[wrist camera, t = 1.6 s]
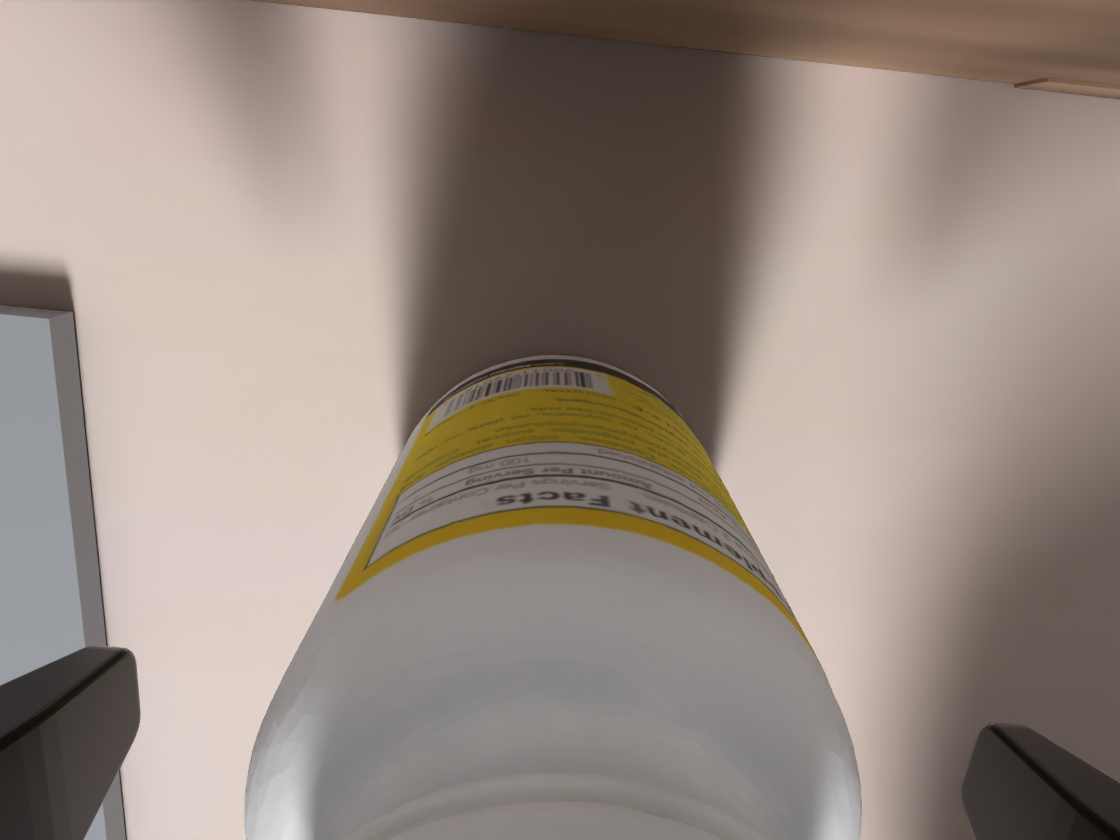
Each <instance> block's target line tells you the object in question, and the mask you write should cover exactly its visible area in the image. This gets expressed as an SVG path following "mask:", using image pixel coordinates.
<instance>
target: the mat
mask: <svg viewBox="0 0 1120 840" xmlns="http://www.w3.org/2000/svg"><path fill="white" fill-rule="evenodd" d="M87 646H106V637H105V627H104V617H103V607H102V597H101V587H100V577H99V567H98V557H97V547H96V537H95V527H94V517H93V507H92V497H91V487H90V477H89V467H88V457H87V447H86V438H85V428H84V418H83V408H82V398H81V388H80V378H79V368H78V358H77V348H76V338H75V328H74V318H73V312H70V311H59V310H49V309H39V308H29V307H18V306H8V305H0V685H2V684H4V683H7V682H9V681H11V680H13V679H15V678H18V677H20V676H22V675H24V674H27V673H29V672H31V671H33V670H36V669H38V668H40V667H42V666H44V665H47V664H49V663H51V662H53V661H56V660H58V659H60V658H62V657H65V656H67V655H69V654H71V653H73V652H76V651H78V650H80V649H82V648H85V647H87ZM84 840H126V836H125V826H124V816H123V806H122V796H121V786H120V776H119V771H118V773H117V775H116V777H115V779H114V781H113V783H112V785H111V787H110V789H109V791H108V793H107V795H106V797H105V799H104V801H103V803H102V805H101V807H100V809H99V811H98V813H97V815H96V817H95V819H94V821H93V823H92V825H91V827H90V829H89V831H88V833H87V835H86V837H85V839H84Z"/></svg>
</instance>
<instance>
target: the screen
mask: <svg viewBox="0 0 1120 840" xmlns="http://www.w3.org/2000/svg"><path fill="white" fill-rule="evenodd" d="M254 1H263V2H272V3H281V4H290V5H300V6H309V7H318V8H327V9H336V10H345V11H354V12H364V13H373V14H382V15H391V16H400V17H409V18H419V19H428V20H437V21H446V22H455V23H464V24H474V25H483V26H492V27H501V28H510V29H519V30H528V31H538V32H547V33H556V34H565V35H574V36H583V37H593V38H602V39H611V40H620V41H629V42H638V43H647V44H657V45H666V46H675V47H684V48H693V49H702V50H712V51H721V52H730V53H739V54H748V55H757V56H767V57H776V58H785V59H794V60H803V61H812V62H821V63H831V64H840V65H849V66H858V67H867V68H876V69H886V70H895V71H904V72H913V73H922V74H931V75H940V76H950V77H959V78H968V79H977V80H986V81H995V82H1005V83H1014V84H1015V88H1025V89H1034V90H1043V91H1052V92H1061V93H1070V94H1080V95H1089V96H1098V97H1107V98H1116V99H1120V0H254Z"/></svg>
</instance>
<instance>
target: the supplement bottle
mask: <svg viewBox="0 0 1120 840" xmlns="http://www.w3.org/2000/svg"><path fill="white" fill-rule="evenodd" d="M861 816H862V801H861V786H860V778H859V772H858V767H857V762H856V757H855V752H854V747H853V743H852V740H851V737H850V734H849V731H848V728H847V725H846V722H845V719H844V717H843V714H842V712H841V709H840V707H839V705H838V703H837V701H836V699H835V696H834V694H833V692H832V689H831V687H830V684H829V682H828V679H827V677H826V674H825V672H824V670H823V668H822V666H821V664H820V663H819V661H818V659H817V657H816V655H815V653H814V651H813V649H812V647H811V645H810V644H809V642H808V640H807V638H806V636H805V635H804V633H803V631H802V629H801V627H800V625H799V623H798V622H797V620H796V618H795V616H794V614H793V612H792V610H791V608H790V606H789V604H788V602H787V601H786V599H785V597H784V596H783V594H782V592H781V590H780V588H779V586H778V584H777V582H776V581H775V578H774V576H773V574H772V573H771V571H770V569H769V567H768V565H767V563H766V562H765V560H764V558H763V556H762V554H761V553H760V551H759V548H758V547H757V545H756V543H755V541H754V539H753V538H752V536H751V534H750V532H749V530H748V529H747V527H746V525H745V523H744V521H743V519H742V517H741V515H740V513H739V511H738V510H737V508H736V506H735V504H734V502H733V500H732V499H731V497H730V495H729V492H728V491H727V489H726V487H725V486H724V484H723V482H722V480H721V478H720V476H719V475H718V473H717V471H716V469H715V467H714V465H713V464H712V462H711V460H710V458H709V456H708V454H707V453H706V451H705V449H704V448H703V446H702V444H701V443H700V442H699V440H698V438H697V437H696V435H695V433H694V431H693V430H692V429H691V427H690V426H689V425H688V423H687V422H686V420H685V419H684V418H683V416H682V415H681V414H680V413H679V412H678V411H677V409H676V408H675V407H674V406H673V405H672V404H671V403H670V402H669V401H668V400H667V399H666V398H665V397H663V396H662V395H661V394H660V393H659V392H658V391H657V390H655V389H654V388H652V387H651V386H650V385H648V384H647V383H645V382H643V381H642V380H640V379H638V378H636V377H635V376H633V375H631V374H629V373H627V372H625V371H623V370H621V369H619V368H617V367H614V366H612V365H609V364H606V363H603V362H599V361H596V360H592V359H588V358H582V357H575V356H564V355H539V356H532V357H525V358H520V359H515V360H510V361H507V362H504V363H501V364H498V365H495V366H491V367H489V368H487V369H485V370H482V371H480V372H478V373H476V374H474V375H472V376H470V377H468V378H467V379H465V380H464V381H462V382H461V383H459V384H458V385H456V386H455V387H453V388H452V389H451V390H450V391H448V392H447V393H446V394H445V395H444V396H443V397H441V398H440V399H439V400H438V401H437V402H436V403H435V404H434V405H433V406H432V407H431V409H430V410H429V411H428V412H427V413H426V414H425V416H424V417H423V418H422V419H421V421H420V422H419V423H418V425H417V426H416V427H415V429H414V431H413V432H412V434H411V435H410V437H409V439H408V441H407V443H406V445H405V446H404V448H403V450H402V452H401V454H400V456H399V457H398V459H397V461H396V463H395V465H394V467H393V469H392V471H391V473H390V475H389V477H388V479H387V480H386V482H385V484H384V486H383V488H382V490H381V492H380V494H379V496H378V498H377V500H376V502H375V504H374V505H373V507H372V509H371V511H370V513H369V515H368V517H367V519H366V521H365V522H364V524H363V526H362V528H361V530H360V532H359V534H358V536H357V538H356V540H355V541H354V543H353V545H352V547H351V549H350V551H349V553H348V555H347V557H346V559H345V561H344V563H343V565H342V567H341V569H340V570H339V572H338V574H337V576H336V578H335V580H334V582H333V584H332V586H331V588H330V590H329V592H328V594H327V595H326V597H325V599H324V601H323V603H322V605H321V607H320V609H319V610H318V612H317V614H316V616H315V618H314V620H313V622H312V624H311V626H310V627H309V629H308V631H307V633H306V635H305V637H304V639H303V640H302V642H301V644H300V646H299V648H298V650H297V652H296V654H295V655H294V657H293V659H292V661H291V663H290V665H289V667H288V669H287V670H286V672H285V674H284V676H283V678H282V680H281V682H280V684H279V687H278V689H277V691H276V693H275V695H274V697H273V699H272V701H271V703H270V705H269V707H268V710H267V712H266V714H265V717H264V719H263V722H262V724H261V727H260V730H259V732H258V735H257V738H256V741H255V744H254V747H253V751H252V756H251V761H250V766H249V771H248V777H247V784H246V791H245V833H246V840H860V834H861Z"/></svg>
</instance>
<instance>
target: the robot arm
mask: <svg viewBox="0 0 1120 840" xmlns="http://www.w3.org/2000/svg"><path fill="white" fill-rule="evenodd" d="M139 723H140V701H139V689H138V678H137V666H136V660H135V656H134V654H133V653H132V652H131V651H130V650H129V649H127V648H120V647H108V646H87V647H85V648H82V649H80V650H78V651H76V652H73V653H71V654H69V655H67V656H65V657H62V658H60V659H58V660H56V661H53V662H51V663H49V664H47V665H44V666H42V667H40V668H38V669H36V670H33V671H31V672H29V673H27V674H24V675H22V676H20V677H18V678H15V679H13V680H11V681H9V682H7V683H4V684H2V685H0V840H84V839H85V837H86V835H87V833H88V831H89V829H90V827H91V825H92V823H93V821H94V819H95V817H96V815H97V813H98V811H99V809H100V807H101V805H102V803H103V801H104V799H105V797H106V795H107V793H108V791H109V789H110V787H111V785H112V783H113V781H114V779H115V777H116V775H117V773H118V771H119V769H120V767H121V765H122V763H123V761H124V759H125V757H126V755H127V753H128V751H129V749H130V747H131V745H132V743H133V741H134V739H135V737H136V734H137V731H138V728H139ZM961 799H962V804H963V808H964V811H965V814H966V816H967V819H968V822H969V824H970V827H971V830H972V833H973V835H974V838H975V840H1120V783H1118V782H1117V781H1115V780H1113V779H1112V778H1110V777H1109V776H1107V775H1105V774H1104V773H1102V772H1100V771H1099V770H1097V769H1095V768H1094V767H1092V766H1091V765H1089V764H1087V763H1086V762H1084V761H1082V760H1081V759H1079V758H1078V757H1076V756H1074V755H1073V754H1071V753H1069V752H1068V751H1066V750H1065V749H1063V748H1061V747H1060V746H1058V745H1056V744H1055V743H1053V742H1052V741H1050V740H1048V739H1047V738H1045V737H1043V736H1042V735H1040V734H1038V733H1037V732H1035V731H1034V730H1032V729H1030V728H1028V727H1026V726H1022V725H1015V724H1003V723H988V724H985V725H983V726H982V727H981V729H980V730H979V732H978V734H977V737H976V740H975V743H974V746H973V749H972V752H971V755H970V758H969V761H968V764H967V767H966V770H965V774H964V777H963V780H962V785H961Z"/></svg>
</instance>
